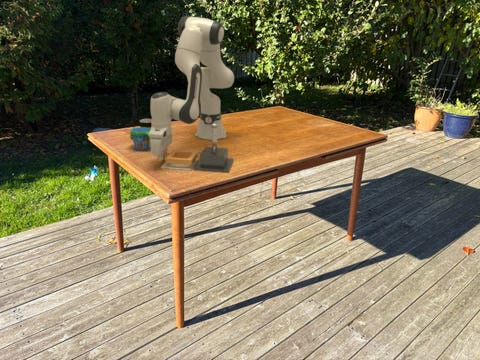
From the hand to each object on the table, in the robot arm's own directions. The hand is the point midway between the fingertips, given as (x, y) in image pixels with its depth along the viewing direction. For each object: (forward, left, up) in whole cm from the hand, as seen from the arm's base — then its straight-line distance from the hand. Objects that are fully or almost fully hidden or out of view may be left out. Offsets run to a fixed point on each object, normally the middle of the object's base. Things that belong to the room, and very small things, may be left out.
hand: (163, 157), depth 174 cm
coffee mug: (-37, -22, -3) cm, 43 cm away
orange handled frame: (0, +7, 0) cm, 7 cm away
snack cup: (-18, -17, -3) cm, 25 cm away
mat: (0, +8, -2) cm, 8 cm away
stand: (-2, +24, -2) cm, 24 cm away
